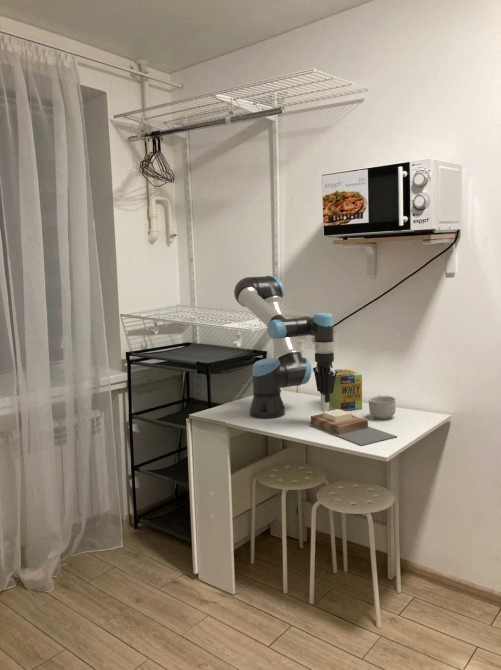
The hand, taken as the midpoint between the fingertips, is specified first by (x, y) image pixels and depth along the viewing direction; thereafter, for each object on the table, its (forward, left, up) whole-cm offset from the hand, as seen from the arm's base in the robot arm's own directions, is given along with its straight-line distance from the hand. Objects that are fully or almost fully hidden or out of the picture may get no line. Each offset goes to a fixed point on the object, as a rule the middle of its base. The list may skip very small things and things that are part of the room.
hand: (325, 409), depth 233 cm
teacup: (+7, +24, -5) cm, 25 cm away
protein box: (-15, +22, -5) cm, 27 cm away
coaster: (+7, 0, -2) cm, 7 cm away
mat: (+16, 0, -5) cm, 17 cm away
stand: (+8, 0, -5) cm, 10 cm away
